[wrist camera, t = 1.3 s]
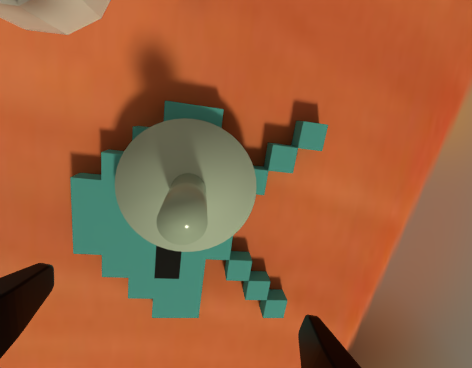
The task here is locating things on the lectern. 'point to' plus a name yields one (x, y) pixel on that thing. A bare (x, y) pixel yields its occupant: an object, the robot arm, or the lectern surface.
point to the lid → (185, 185)
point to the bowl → (52, 14)
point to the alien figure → (168, 261)
